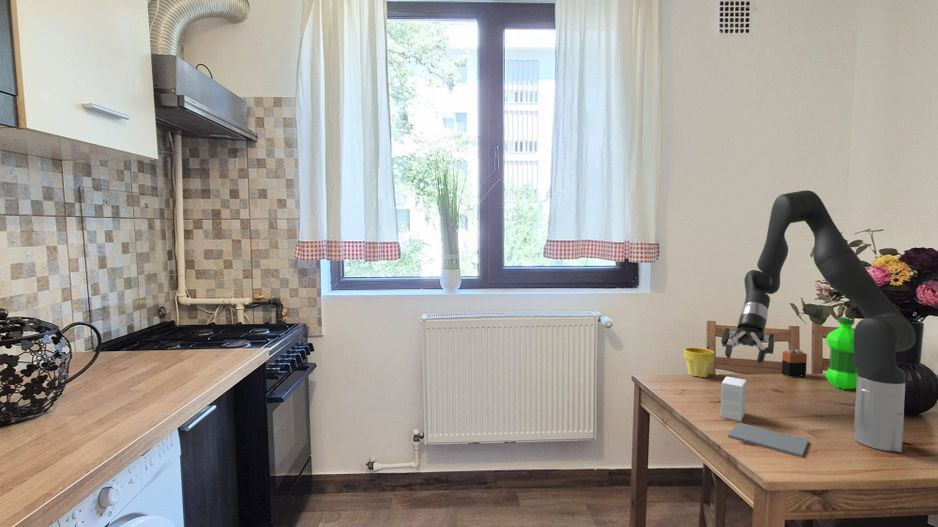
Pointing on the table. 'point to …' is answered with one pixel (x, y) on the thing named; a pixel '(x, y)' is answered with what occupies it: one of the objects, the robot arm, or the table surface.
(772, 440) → the mat
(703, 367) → the plant pot
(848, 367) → the plastic bottle
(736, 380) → the small box
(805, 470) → the table surface
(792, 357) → the battery
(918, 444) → the table surface
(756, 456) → the table surface
